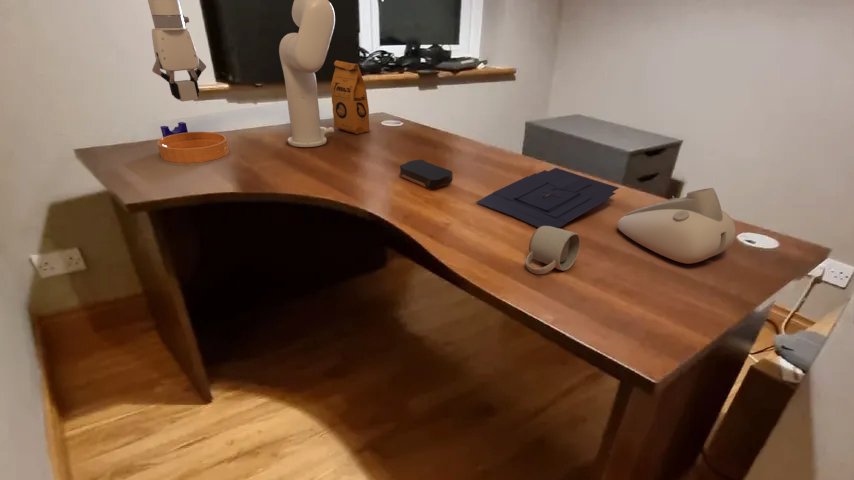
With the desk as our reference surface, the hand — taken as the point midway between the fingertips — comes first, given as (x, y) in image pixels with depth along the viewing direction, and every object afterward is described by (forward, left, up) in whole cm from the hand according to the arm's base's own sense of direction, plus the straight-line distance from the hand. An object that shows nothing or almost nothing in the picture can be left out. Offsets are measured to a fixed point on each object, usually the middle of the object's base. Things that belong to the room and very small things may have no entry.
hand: (186, 96), depth 151 cm
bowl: (0, -2, -17) cm, 17 cm away
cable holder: (-3, -26, -17) cm, 31 cm away
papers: (-52, +92, -17) cm, 107 cm away
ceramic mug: (-24, +113, -17) cm, 117 cm away
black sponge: (-39, +59, -17) cm, 73 cm away
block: (0, 0, -1) cm, 1 cm away
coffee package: (-55, +2, -17) cm, 57 cm away
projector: (-52, +124, -17) cm, 135 cm away
